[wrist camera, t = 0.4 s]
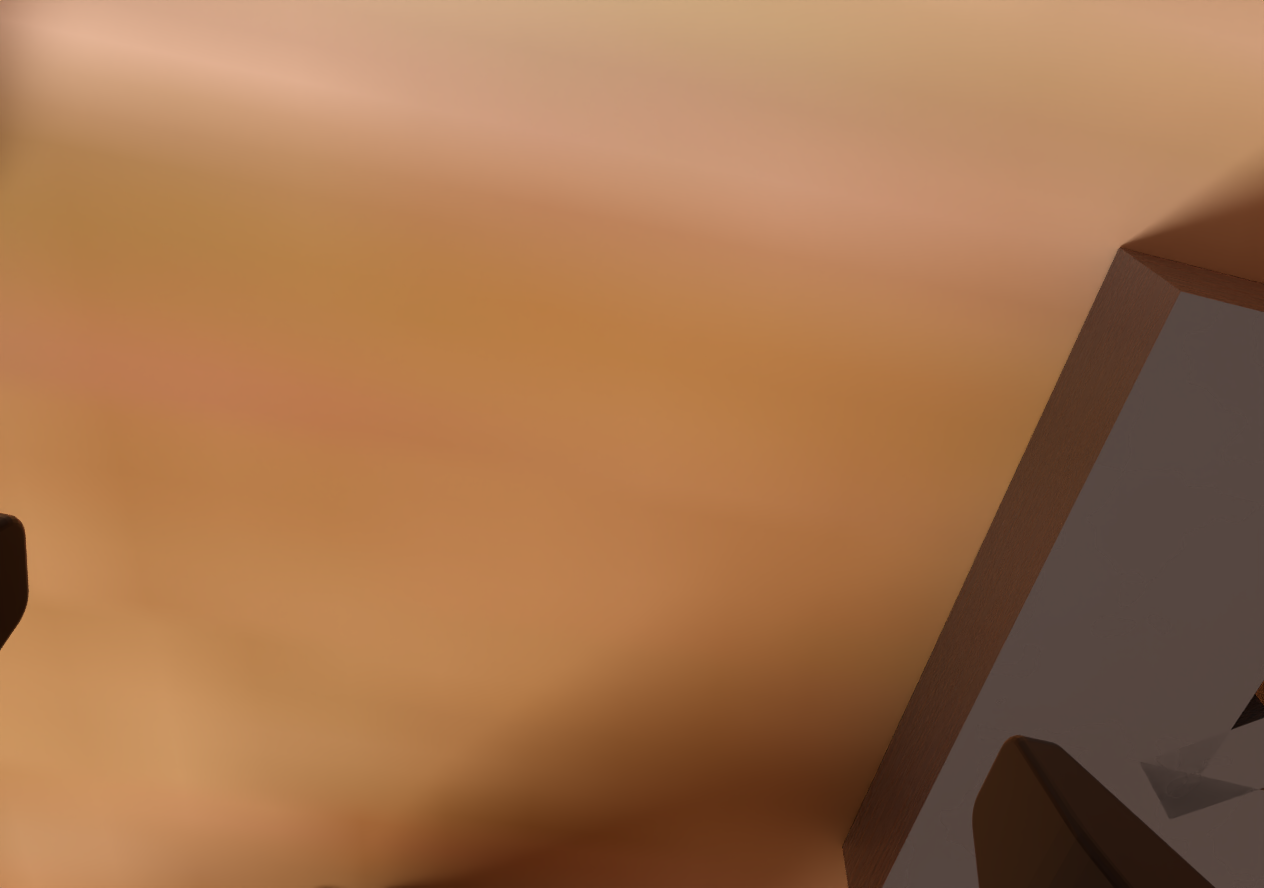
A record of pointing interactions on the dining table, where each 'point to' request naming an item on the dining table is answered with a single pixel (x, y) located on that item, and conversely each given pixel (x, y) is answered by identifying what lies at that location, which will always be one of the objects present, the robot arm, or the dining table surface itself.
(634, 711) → the dining table surface
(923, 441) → the dining table surface
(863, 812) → the duct plate
